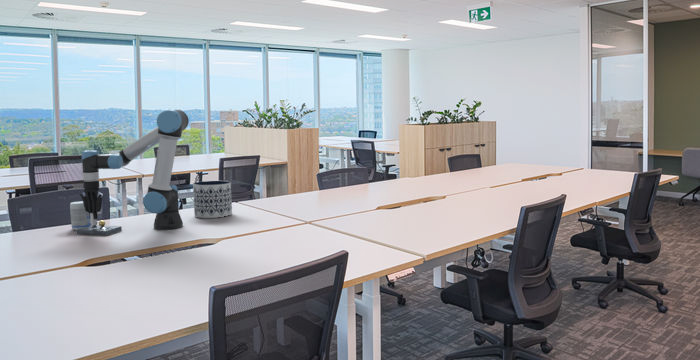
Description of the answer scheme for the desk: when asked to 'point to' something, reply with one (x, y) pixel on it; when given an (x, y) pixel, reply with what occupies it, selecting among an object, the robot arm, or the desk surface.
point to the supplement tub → (79, 216)
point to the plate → (99, 230)
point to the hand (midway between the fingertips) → (93, 225)
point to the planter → (212, 199)
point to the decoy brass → (101, 223)
